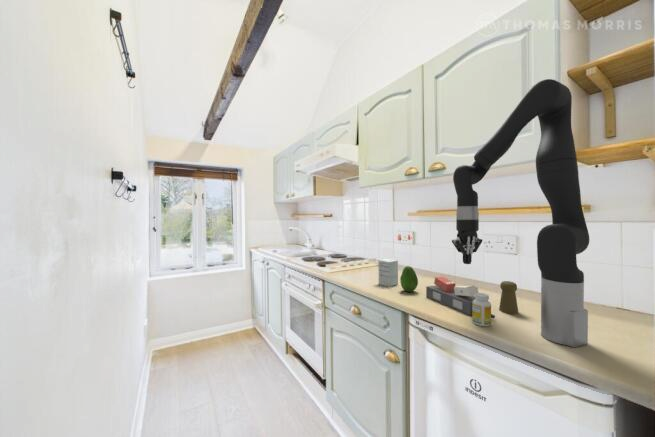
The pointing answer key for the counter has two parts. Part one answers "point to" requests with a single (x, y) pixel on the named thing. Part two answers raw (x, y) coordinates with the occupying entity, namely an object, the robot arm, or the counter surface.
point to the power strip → (451, 299)
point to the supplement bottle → (481, 310)
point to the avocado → (409, 279)
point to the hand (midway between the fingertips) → (467, 263)
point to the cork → (508, 298)
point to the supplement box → (388, 272)
